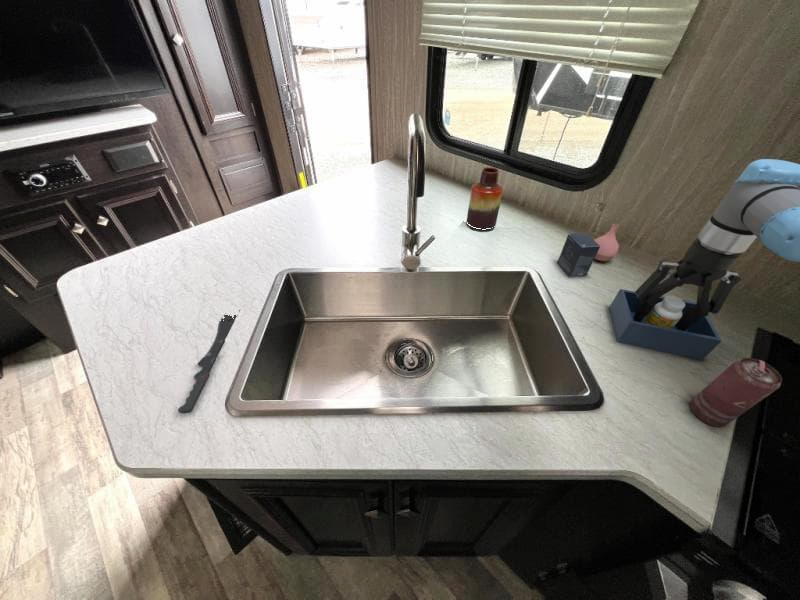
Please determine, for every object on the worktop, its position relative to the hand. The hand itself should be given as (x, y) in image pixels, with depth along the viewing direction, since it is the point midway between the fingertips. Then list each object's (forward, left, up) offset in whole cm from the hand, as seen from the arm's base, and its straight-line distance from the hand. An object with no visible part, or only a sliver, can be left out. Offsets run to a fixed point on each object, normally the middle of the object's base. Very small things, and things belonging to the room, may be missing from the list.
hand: (656, 325), depth 77 cm
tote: (0, 0, -2) cm, 2 cm away
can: (-21, -5, -3) cm, 22 cm away
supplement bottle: (0, 0, -2) cm, 2 cm away
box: (+22, +17, -3) cm, 28 cm away
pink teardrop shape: (+31, +8, -3) cm, 32 cm away
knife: (-39, +99, -2) cm, 106 cm away
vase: (+42, +48, -3) cm, 63 cm away
